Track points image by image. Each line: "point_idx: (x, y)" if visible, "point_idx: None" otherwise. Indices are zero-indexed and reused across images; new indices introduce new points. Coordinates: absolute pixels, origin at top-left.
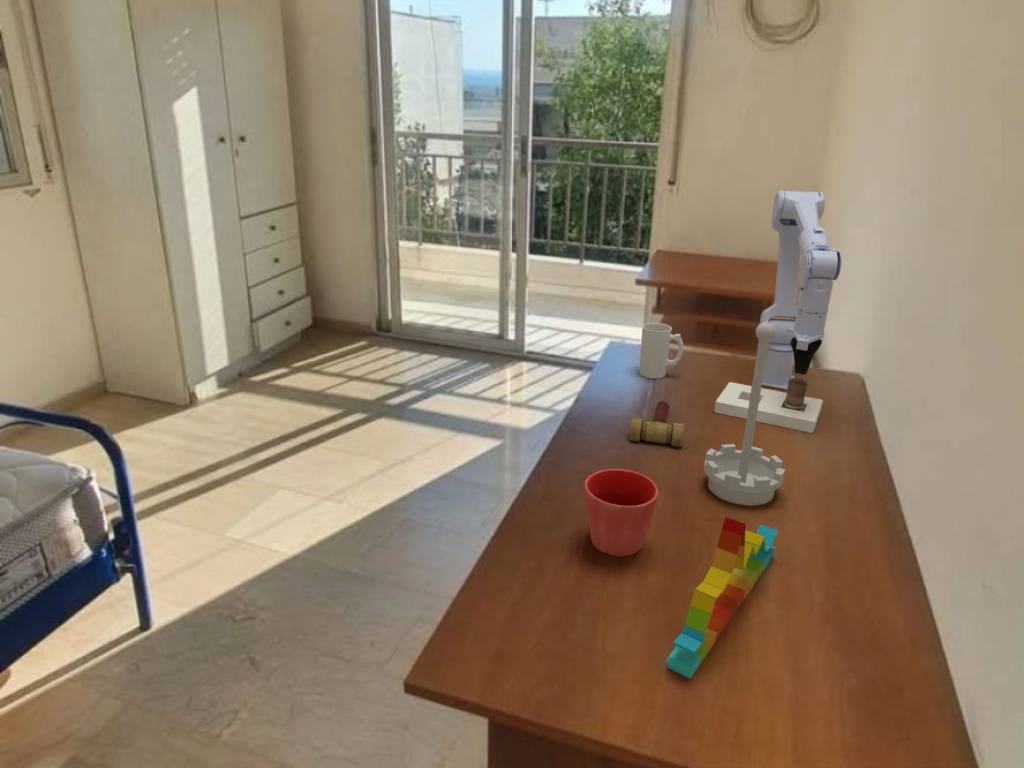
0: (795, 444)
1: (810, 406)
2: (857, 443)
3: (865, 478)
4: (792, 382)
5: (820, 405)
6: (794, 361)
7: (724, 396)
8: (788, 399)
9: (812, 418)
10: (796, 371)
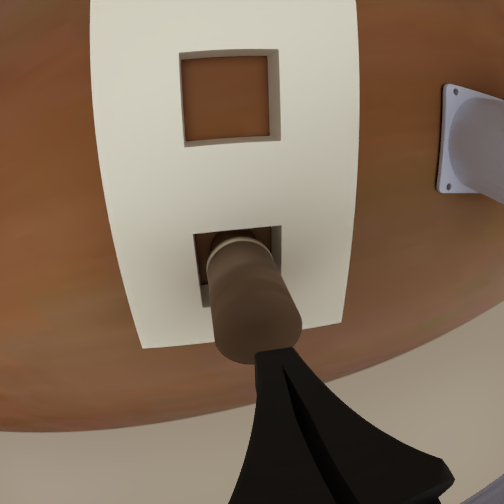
0: (47, 303)
1: None
2: (166, 398)
3: (37, 412)
4: (229, 318)
5: None
6: (258, 404)
7: (168, 2)
8: (214, 267)
9: (163, 338)
10: (256, 364)
